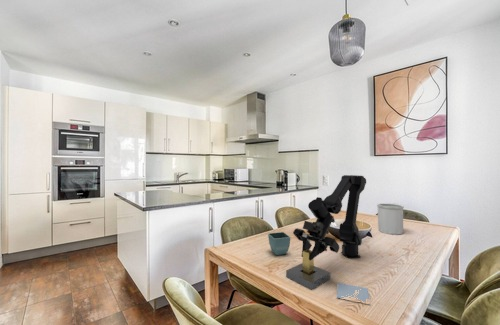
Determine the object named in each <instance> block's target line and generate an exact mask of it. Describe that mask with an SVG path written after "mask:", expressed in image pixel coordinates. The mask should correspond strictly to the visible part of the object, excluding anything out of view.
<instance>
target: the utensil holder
mask: <svg viewBox="0 0 500 325" xmlns="http://www.w3.org/2000/svg"><path fill="white" fill-rule="evenodd" d="M376 206H377V226H378V231H379V232H380V233H383V234H388V235H403V233H404V209H405V208H404V206H405V205H403V204H399V203H391V202H390V203H389V202H379V203H377V204H376Z"/></svg>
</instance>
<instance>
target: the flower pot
mask: <svg viewBox="0 0 500 325" xmlns="http://www.w3.org/2000/svg"><path fill="white" fill-rule="evenodd" d="M267 236H268V237H267V238H268V244H269V246H270V250H271V251H272V252H273V254H275V255H276V256H282V255H286V254H287V253H288V251H289V248H290V245H291V236H290V235H288V234H287V233H286V232H285V231H279V232H268V233H267Z"/></svg>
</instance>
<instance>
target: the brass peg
mask: <svg viewBox="0 0 500 325" xmlns="http://www.w3.org/2000/svg"><path fill="white" fill-rule="evenodd" d="M311 252H312V250H310V249H309V250H308V249H307V250H304V251H303V257H302V263H303V273H305V274H307V275H311V274H313V273H314V266H315V265H314V264H315V262H314V260H315V258H313V259H312V260H309V256H310V254H311Z"/></svg>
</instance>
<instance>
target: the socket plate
mask: <svg viewBox="0 0 500 325" xmlns="http://www.w3.org/2000/svg"><path fill="white" fill-rule="evenodd" d="M285 276H286V278H288V279H290V280H292V281H294V282H296V283H297V284H299V285H302V286H304V287H305V288H307V289H309V290H311V291H313V290H314V289H316V288H318V287H319V286H321V285H322V283H323V284H324V283H326V282H327V281H330V279H331V272H329V271H328V270H325V269H323V268H321V267H318V266H315V265H314V273H313V274H311V275H307V274H305V273H303V262H301V263H299V264H298V265H296V266H293V267H290V268H289V269H287V270H286V272H285ZM317 286H318V287H317ZM312 289H313V290H312Z"/></svg>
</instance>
